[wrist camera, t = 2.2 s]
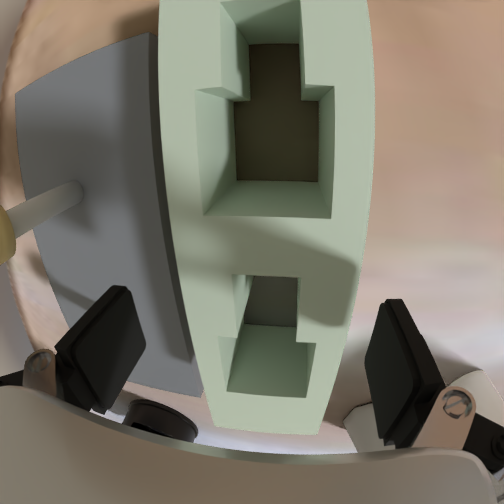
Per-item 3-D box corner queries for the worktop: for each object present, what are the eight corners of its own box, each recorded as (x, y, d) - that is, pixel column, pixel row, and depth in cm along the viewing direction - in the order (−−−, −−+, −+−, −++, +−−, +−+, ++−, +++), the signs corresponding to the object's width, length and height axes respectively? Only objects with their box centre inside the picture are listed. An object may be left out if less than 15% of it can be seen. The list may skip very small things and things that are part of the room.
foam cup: (453, 416, 23) (471, 500, 11) (409, 409, 22) (425, 515, 11) (507, 366, 18) (543, 454, 7) (473, 351, 18) (518, 466, 6)
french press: (166, 395, 26) (94, 573, 5) (217, 436, 29) (173, 589, 8) (110, 401, 30) (45, 529, 10) (156, 437, 33) (109, 556, 12)
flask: (339, 433, 25) (339, 510, 16) (345, 401, 22) (349, 496, 13) (398, 425, 24) (408, 498, 15) (415, 391, 21) (434, 479, 12)
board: (25, 92, 13) (-63, 108, 5) (158, 36, 12) (46, -6, 4) (96, 362, 26) (57, 420, 18) (203, 388, 24) (176, 469, 16)
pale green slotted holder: (207, 26, 11) (160, -16, 6) (339, 23, 10) (361, -28, 5) (231, 365, 22) (214, 426, 16) (316, 371, 21) (316, 434, 15)
